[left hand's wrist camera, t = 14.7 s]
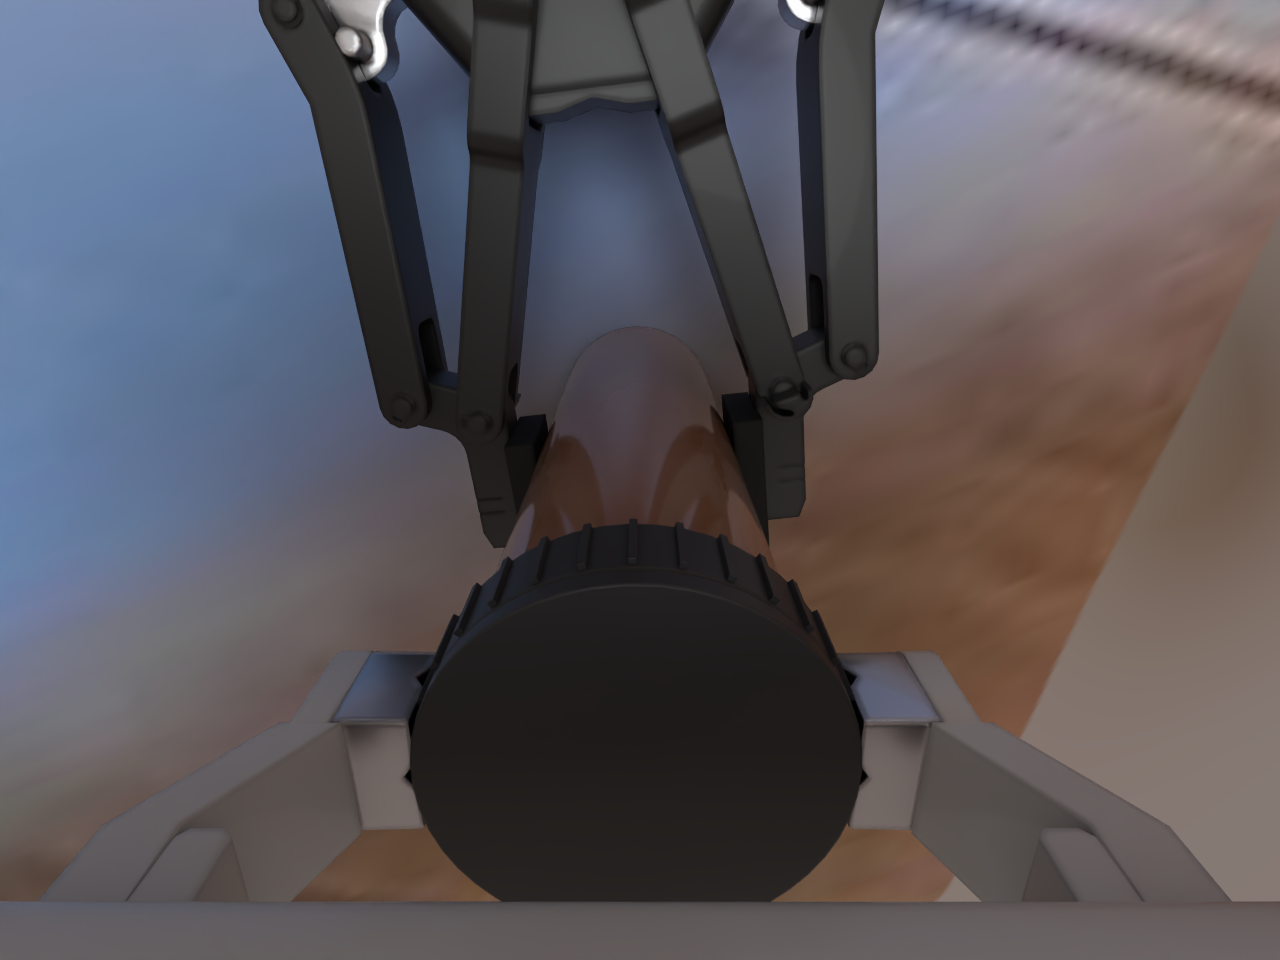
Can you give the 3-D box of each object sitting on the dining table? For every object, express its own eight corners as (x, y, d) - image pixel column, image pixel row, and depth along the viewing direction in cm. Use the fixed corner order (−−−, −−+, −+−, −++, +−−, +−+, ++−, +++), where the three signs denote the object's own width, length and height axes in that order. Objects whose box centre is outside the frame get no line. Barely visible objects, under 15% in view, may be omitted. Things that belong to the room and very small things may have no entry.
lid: (748, 447, 9) (769, 497, 8) (887, 771, 11) (926, 864, 10) (358, 612, 10) (308, 687, 9) (552, 886, 12) (539, 987, 11)
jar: (674, 301, 25) (745, 521, 8) (730, 431, 26) (882, 827, 10) (542, 363, 26) (364, 677, 9) (604, 485, 27) (552, 935, 11)
